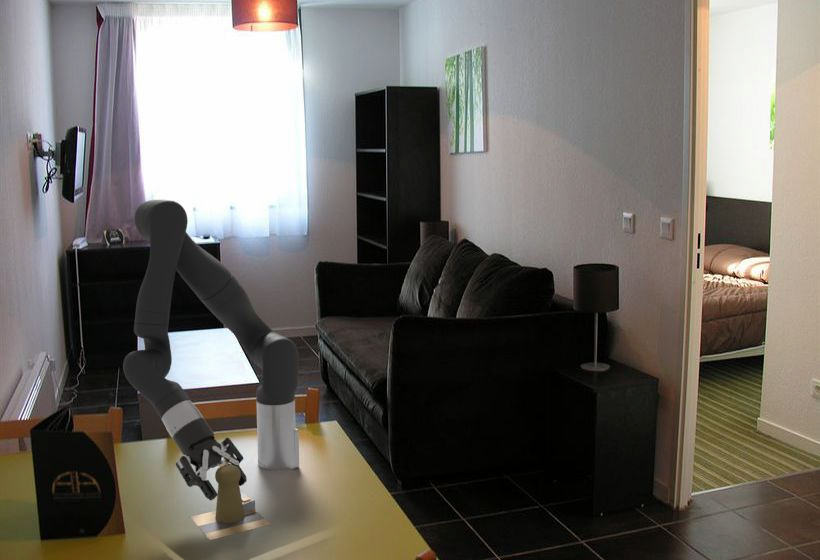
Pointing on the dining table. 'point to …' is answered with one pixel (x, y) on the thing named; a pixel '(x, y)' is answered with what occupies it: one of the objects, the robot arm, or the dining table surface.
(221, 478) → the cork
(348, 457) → the dining table surface
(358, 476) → the dining table surface
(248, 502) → the block
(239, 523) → the plywood board
